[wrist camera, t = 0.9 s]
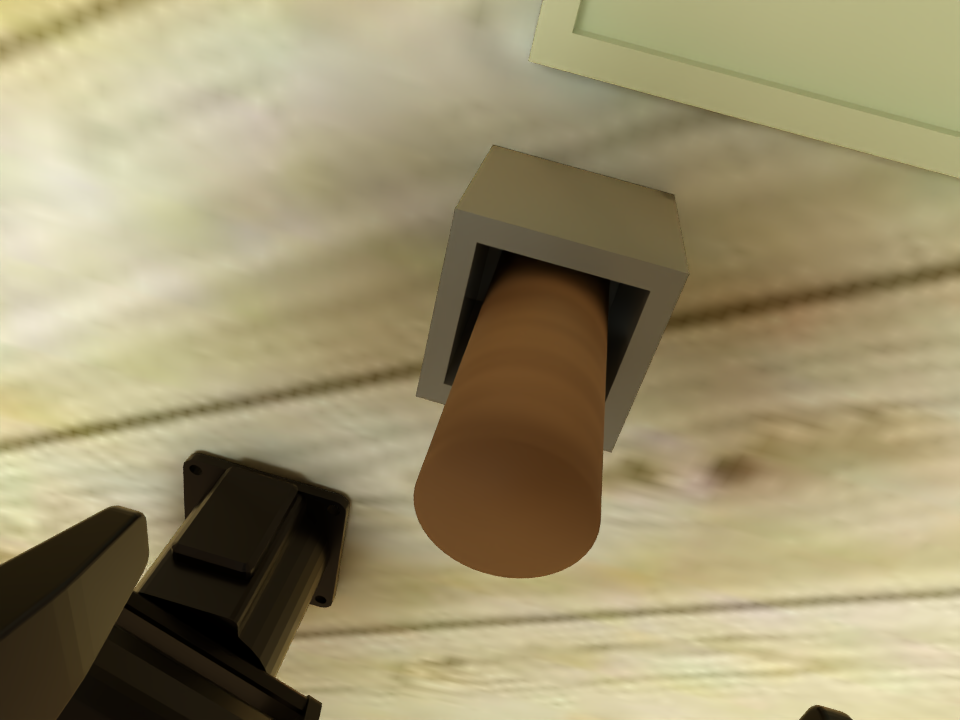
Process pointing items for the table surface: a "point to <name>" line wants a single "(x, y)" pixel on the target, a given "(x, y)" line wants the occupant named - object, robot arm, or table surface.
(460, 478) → the dowel
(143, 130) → the table surface
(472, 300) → the pen cup
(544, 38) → the tray
